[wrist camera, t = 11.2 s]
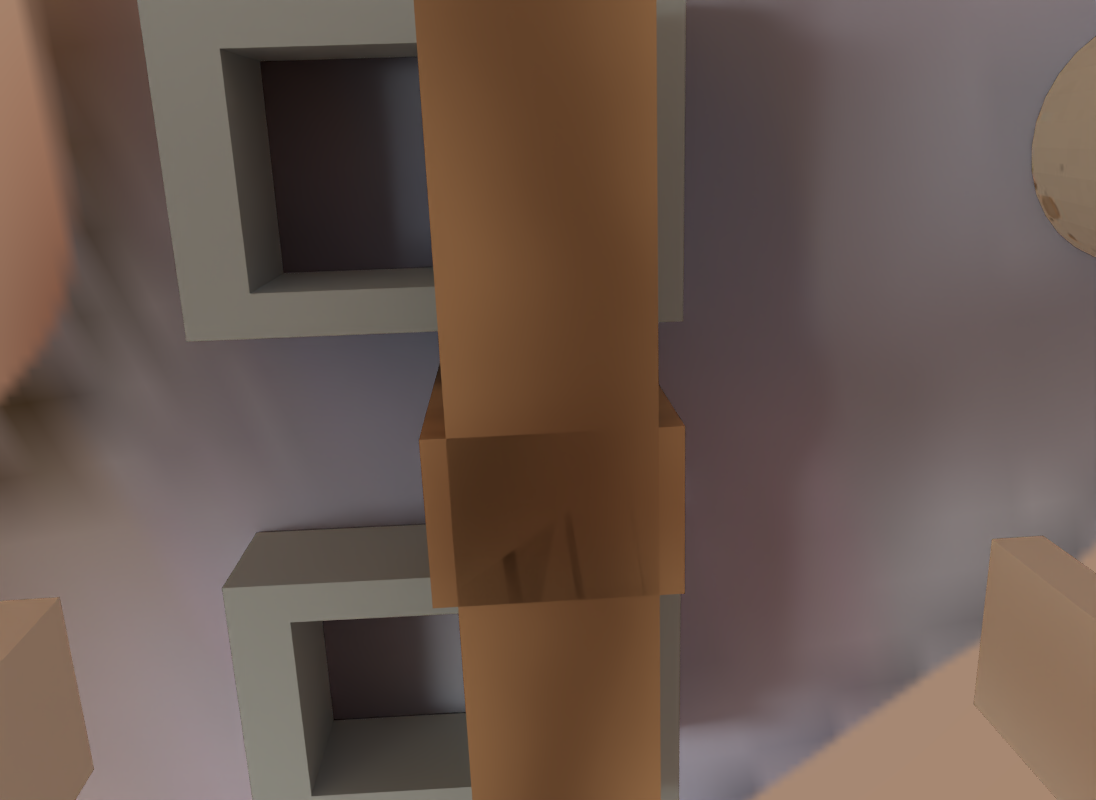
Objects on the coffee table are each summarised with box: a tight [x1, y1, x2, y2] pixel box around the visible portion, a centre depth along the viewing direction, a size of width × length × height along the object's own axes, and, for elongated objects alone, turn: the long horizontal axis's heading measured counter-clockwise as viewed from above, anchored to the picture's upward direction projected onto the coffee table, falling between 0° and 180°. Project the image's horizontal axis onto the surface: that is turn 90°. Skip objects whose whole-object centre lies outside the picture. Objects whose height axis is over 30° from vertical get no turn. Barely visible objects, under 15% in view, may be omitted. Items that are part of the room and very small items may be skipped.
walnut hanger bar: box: [414, 0, 685, 800], centre depth 21 cm, size 5×19×7 cm, turn 2°
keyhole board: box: [137, 0, 686, 800], centre depth 23 cm, size 11×20×3 cm, turn 2°
